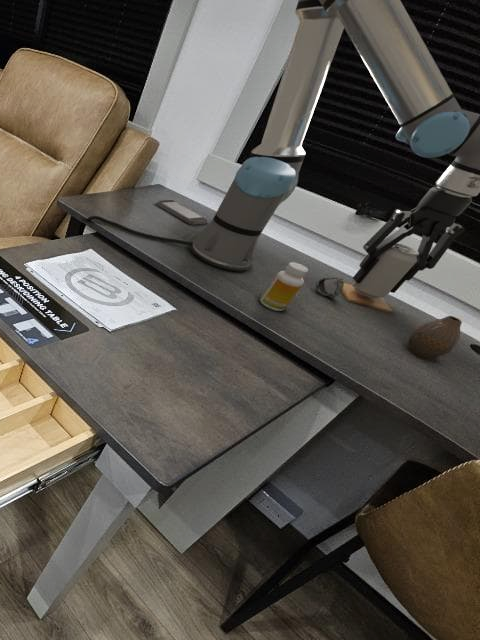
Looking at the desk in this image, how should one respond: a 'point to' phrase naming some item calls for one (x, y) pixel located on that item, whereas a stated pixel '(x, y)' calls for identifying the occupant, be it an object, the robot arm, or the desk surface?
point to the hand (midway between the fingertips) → (373, 285)
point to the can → (387, 271)
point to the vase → (435, 337)
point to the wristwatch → (321, 287)
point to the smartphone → (182, 212)
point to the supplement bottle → (284, 287)
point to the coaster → (364, 299)
